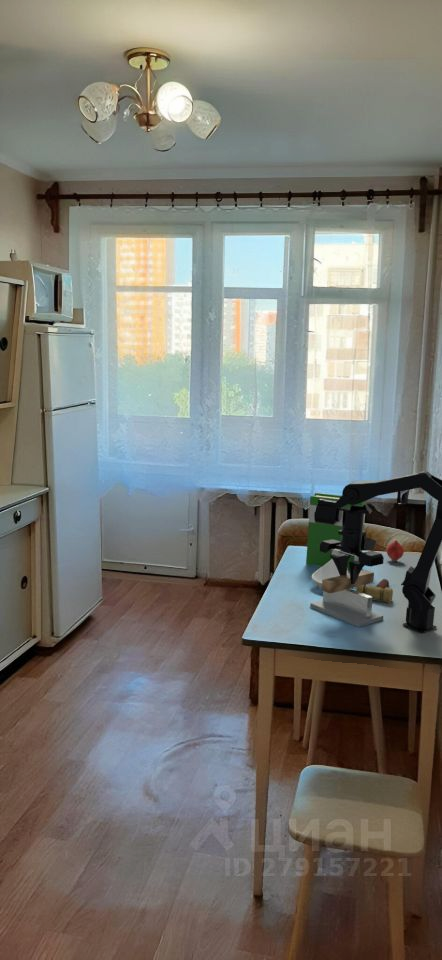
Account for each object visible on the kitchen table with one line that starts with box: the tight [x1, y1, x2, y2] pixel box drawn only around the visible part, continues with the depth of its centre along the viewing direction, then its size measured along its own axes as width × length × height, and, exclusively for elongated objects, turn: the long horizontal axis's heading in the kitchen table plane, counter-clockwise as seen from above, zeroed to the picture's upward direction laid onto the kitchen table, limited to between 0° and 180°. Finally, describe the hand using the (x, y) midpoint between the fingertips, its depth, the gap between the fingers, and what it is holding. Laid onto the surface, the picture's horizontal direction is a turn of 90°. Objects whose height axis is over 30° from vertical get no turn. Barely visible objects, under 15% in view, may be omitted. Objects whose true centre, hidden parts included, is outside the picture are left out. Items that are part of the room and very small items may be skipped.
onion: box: [386, 539, 404, 562], centre depth 253 cm, size 6×6×8 cm
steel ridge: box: [322, 588, 374, 619], centre depth 198 cm, size 16×2×6 cm, turn 39°
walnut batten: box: [321, 569, 375, 593], centre depth 197 cm, size 18×3×3 cm, turn 129°
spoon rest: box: [311, 559, 350, 590], centre depth 225 cm, size 24×12×7 cm, turn 161°
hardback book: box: [305, 492, 367, 572], centre depth 244 cm, size 18×7×24 cm, turn 69°
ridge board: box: [309, 599, 384, 628], centre depth 198 cm, size 18×10×1 cm, turn 39°
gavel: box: [355, 578, 394, 604], centre depth 219 cm, size 21×5×10 cm
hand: (348, 582), depth 197 cm, fingers closed on walnut batten, 3 cm apart
